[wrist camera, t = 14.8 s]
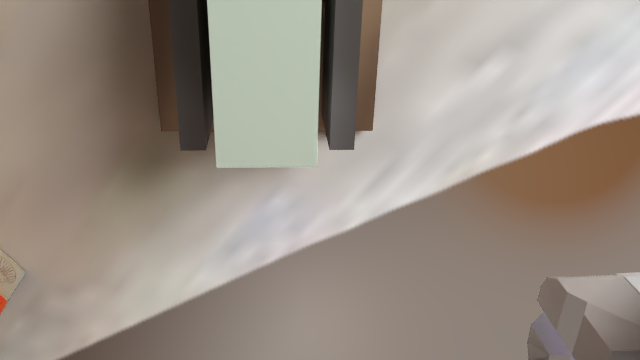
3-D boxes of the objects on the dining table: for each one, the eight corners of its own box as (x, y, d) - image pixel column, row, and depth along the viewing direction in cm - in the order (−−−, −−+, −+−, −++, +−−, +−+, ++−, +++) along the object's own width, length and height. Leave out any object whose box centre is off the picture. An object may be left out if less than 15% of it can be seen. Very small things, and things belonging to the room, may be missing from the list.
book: (229, 91, 32) (215, 170, 23) (222, -91, 28) (201, -80, 19) (304, 91, 33) (318, 169, 24) (307, -89, 28) (325, -77, 20)
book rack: (164, 123, 34) (144, 169, 28) (138, -155, 28) (106, -164, 22) (369, 123, 35) (388, 167, 29) (388, -145, 29) (417, -152, 23)
